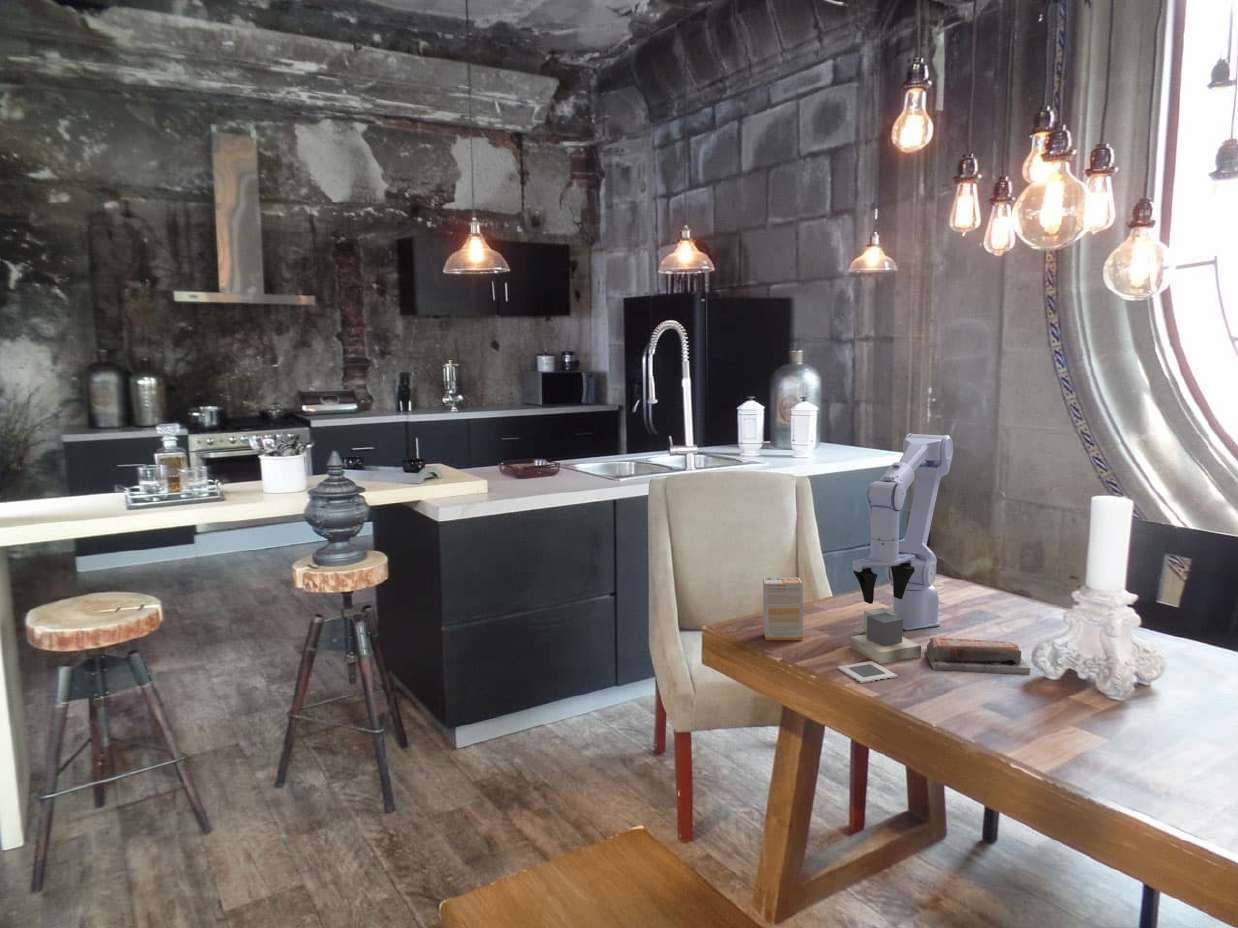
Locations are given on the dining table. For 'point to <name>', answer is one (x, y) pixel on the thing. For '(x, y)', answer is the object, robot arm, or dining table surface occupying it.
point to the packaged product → (975, 656)
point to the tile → (866, 671)
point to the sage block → (873, 612)
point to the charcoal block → (884, 629)
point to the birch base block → (885, 649)
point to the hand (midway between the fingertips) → (883, 600)
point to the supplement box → (783, 608)
